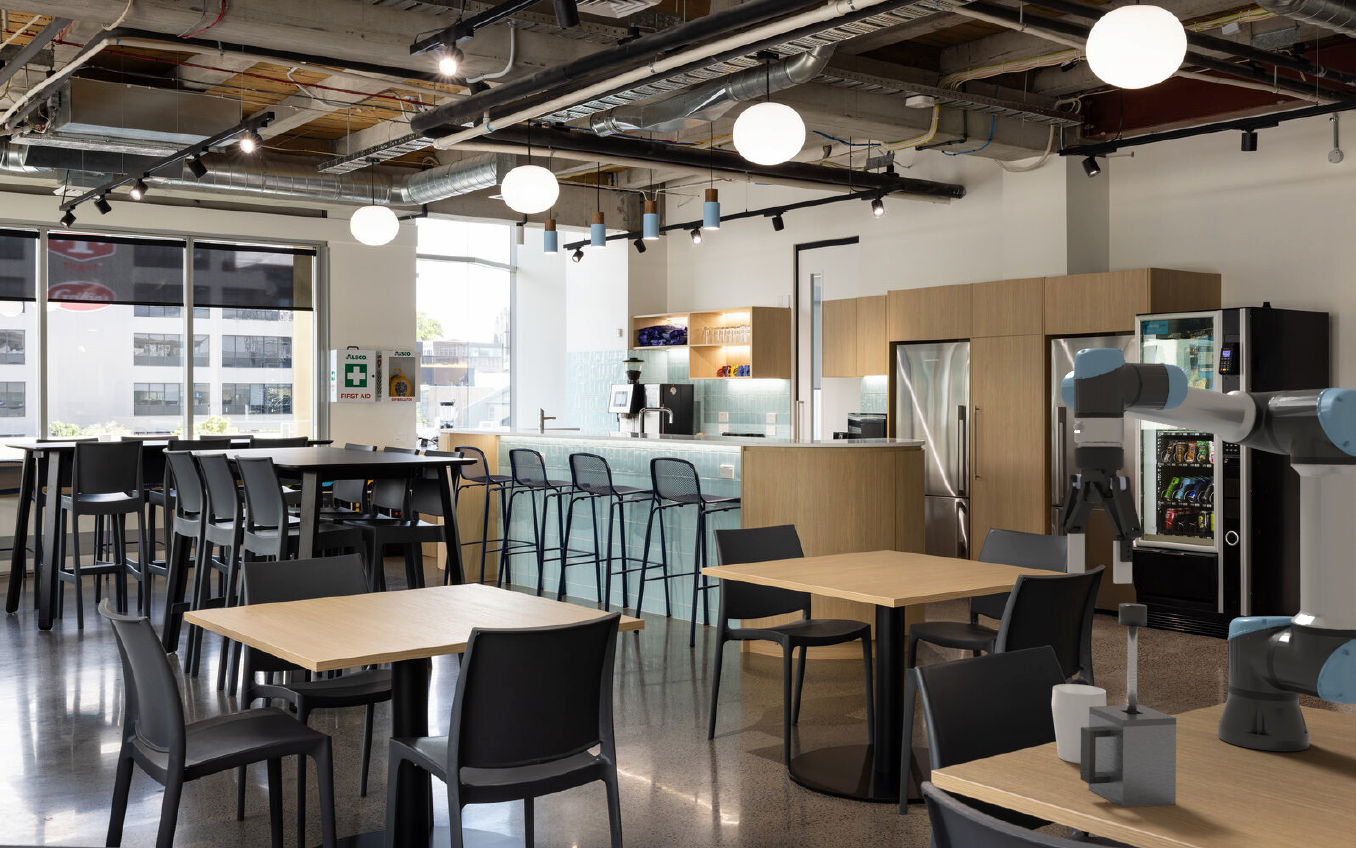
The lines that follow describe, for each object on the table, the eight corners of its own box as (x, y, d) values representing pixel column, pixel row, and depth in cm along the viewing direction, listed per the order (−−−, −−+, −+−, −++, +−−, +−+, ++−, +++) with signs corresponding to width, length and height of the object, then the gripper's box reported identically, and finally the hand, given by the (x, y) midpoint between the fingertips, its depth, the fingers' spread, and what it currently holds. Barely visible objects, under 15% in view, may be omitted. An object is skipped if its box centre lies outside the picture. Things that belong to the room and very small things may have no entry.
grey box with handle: (1139, 786, 183) (1140, 704, 183) (1175, 804, 174) (1176, 718, 174) (1068, 790, 180) (1069, 707, 180) (1101, 808, 171) (1102, 721, 172)
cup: (1110, 768, 194) (1111, 696, 194) (1054, 764, 195) (1055, 693, 196) (1101, 754, 202) (1102, 685, 203) (1048, 750, 204) (1049, 682, 204)
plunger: (1137, 731, 182) (1138, 602, 182) (1163, 742, 175) (1164, 607, 176) (1101, 733, 180) (1102, 602, 181) (1125, 743, 174) (1126, 608, 174)
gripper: (1038, 444, 196) (1038, 569, 196) (1121, 445, 171) (1121, 588, 171) (1078, 445, 197) (1078, 569, 197) (1167, 445, 173) (1166, 587, 172)
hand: (1098, 578), depth 184 cm, fingers open, 13 cm apart
